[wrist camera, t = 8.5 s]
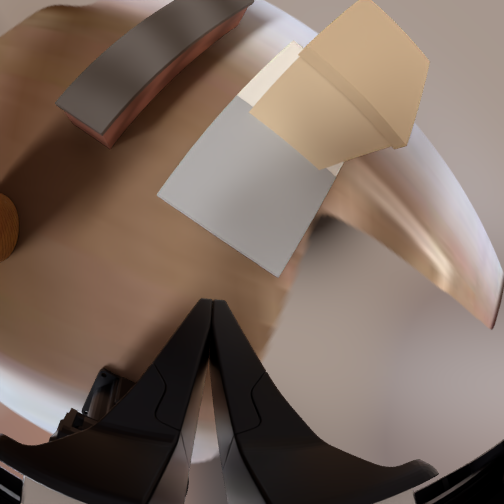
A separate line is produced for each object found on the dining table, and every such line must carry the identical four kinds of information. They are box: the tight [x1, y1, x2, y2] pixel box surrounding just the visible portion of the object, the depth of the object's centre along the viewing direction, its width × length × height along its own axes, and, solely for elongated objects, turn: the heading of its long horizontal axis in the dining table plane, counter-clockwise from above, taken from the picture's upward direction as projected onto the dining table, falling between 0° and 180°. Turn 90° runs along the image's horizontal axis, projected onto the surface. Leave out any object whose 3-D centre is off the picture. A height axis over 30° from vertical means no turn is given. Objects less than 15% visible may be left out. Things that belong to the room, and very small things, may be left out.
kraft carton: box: [249, 0, 430, 170], centre depth 20 cm, size 14×9×11 cm, turn 146°
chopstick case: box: [55, 0, 254, 149], centre depth 18 cm, size 20×5×5 cm, turn 146°
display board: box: [157, 41, 344, 278], centre depth 25 cm, size 24×13×1 cm, turn 146°
